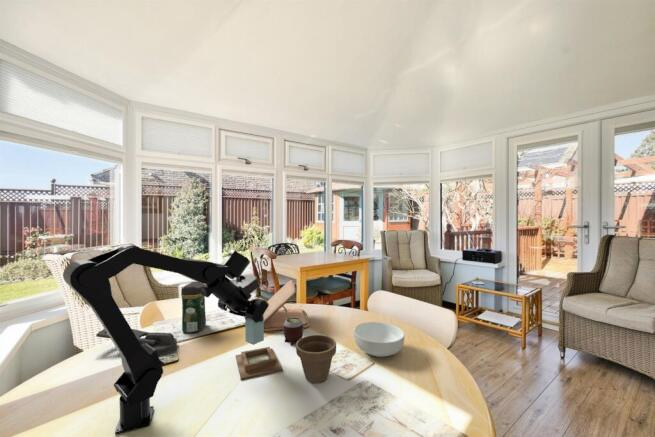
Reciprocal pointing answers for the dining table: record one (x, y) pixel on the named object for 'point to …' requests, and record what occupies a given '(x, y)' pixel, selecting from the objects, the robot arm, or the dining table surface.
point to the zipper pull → (151, 340)
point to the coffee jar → (193, 308)
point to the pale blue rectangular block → (254, 330)
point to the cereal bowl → (379, 338)
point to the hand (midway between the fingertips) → (258, 318)
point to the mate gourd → (292, 329)
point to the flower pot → (316, 356)
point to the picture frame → (257, 363)
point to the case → (277, 317)
